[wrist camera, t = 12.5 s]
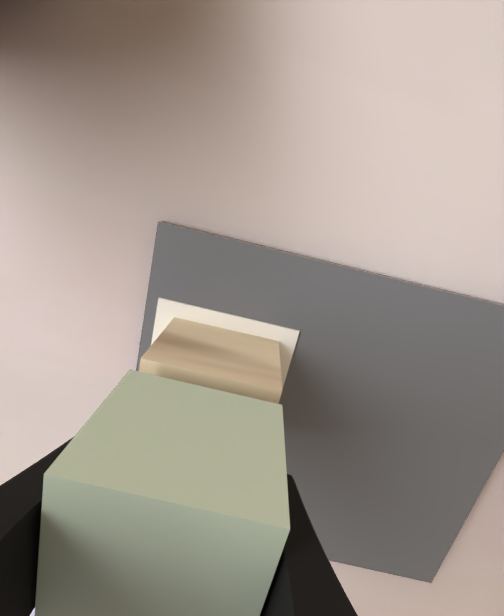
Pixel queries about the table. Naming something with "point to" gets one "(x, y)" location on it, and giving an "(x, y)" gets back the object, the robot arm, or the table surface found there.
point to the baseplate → (356, 388)
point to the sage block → (165, 505)
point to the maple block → (216, 359)
